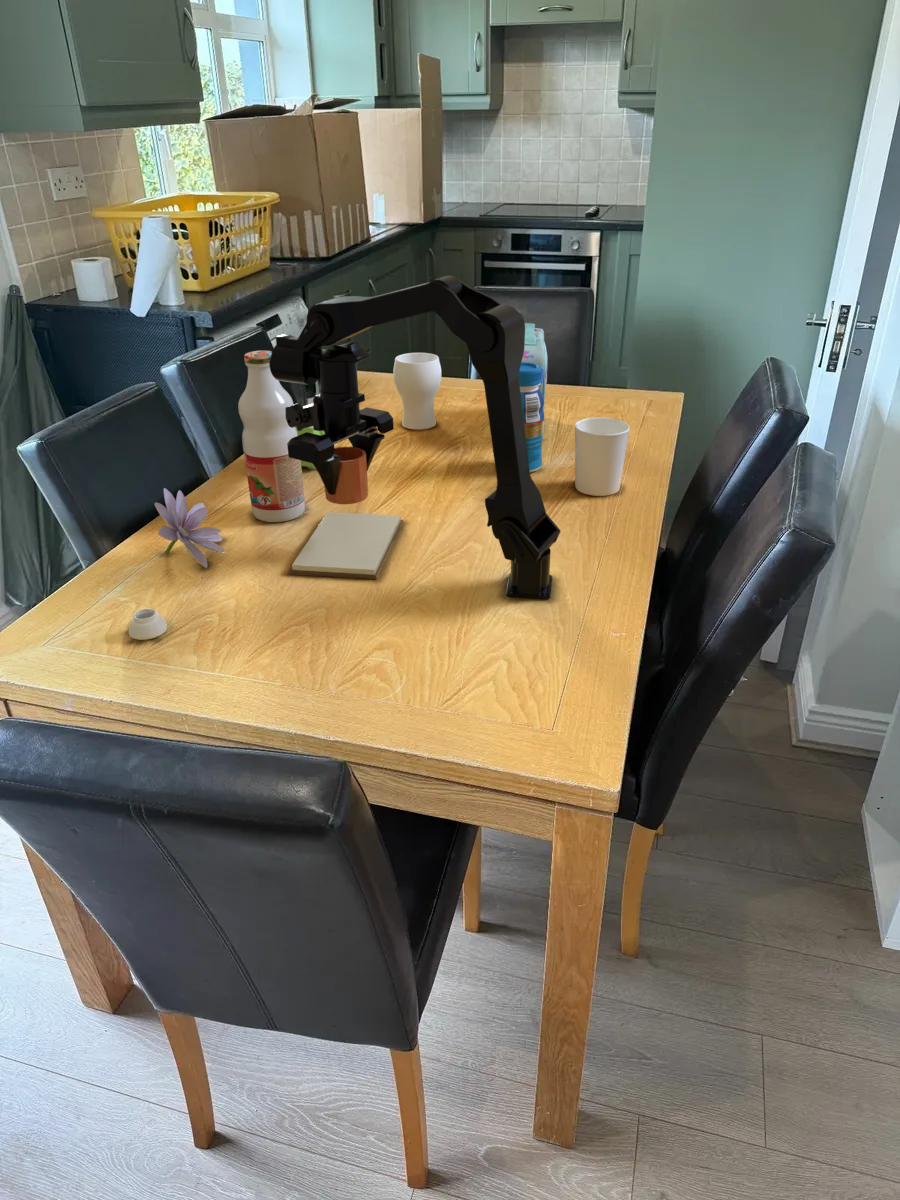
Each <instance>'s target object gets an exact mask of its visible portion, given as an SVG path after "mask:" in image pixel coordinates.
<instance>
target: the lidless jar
mask: <svg viewBox="0 0 900 1200" xmlns="http://www.w3.org/2000/svg"><path fill="white" fill-rule="evenodd" d="M167 629H168V624H167V621H166V620H165V619H164V618H163V617H162V615H161V614H159V613H158V612H157V610H155V608H150V607H146V608H141V609H139V610H137V611H135V612H134V613H133V615H132V619H131V620H130V623H129V626H128V635H129V637H131V638H132V639H135V640H141V641H143V640H150V639H151V640H152V639H154V638H157V637H159V636H161V635H162V634H164V633H165V632H166V631H167Z"/></svg>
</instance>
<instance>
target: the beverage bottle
mask: <svg viewBox="0 0 900 1200" xmlns="http://www.w3.org/2000/svg"><path fill="white" fill-rule="evenodd" d="M541 378H542V369H541V366H540V365H538V364H535V363H529V362H521V366H520V370H519V385H520V393H521V402H522V411H523V419H524V428H525V436H526V445H527V453H528V462H529V471H530V474H531V473H534V472H537V471H539V470H540V469H541V468H542V464H543V463H542V462H543V458H542V457H543V438H544V437H543V436H544V434H543V421H544V422H545V410H544V411H543V409H542V407H543V405H544V406H545V404H544V398H543V395H542V393H541V391H540V389H539V388H538V386H539V385H540V384H541Z"/></svg>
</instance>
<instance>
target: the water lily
mask: <svg viewBox="0 0 900 1200" xmlns="http://www.w3.org/2000/svg"><path fill="white" fill-rule="evenodd" d="M163 498H164V503H165V506H164V504H162V503H160V502H154V503H153V504H154V506H155V509H156V511H157V512H158V514H159V515H160V517H161V519H162V520H163V521H164V522H165V523H166V524H167V525H163V526H161V527H160V528H159V529H158V531H157V532H158V533H157V534H158V535H159V536H160V537H161V538H163V539H165V540H168V541H171V542H170V543H169V544H168V546H167V547H166V549H165V550H164V554H165V555H169V554H170V552H171V550H172V549H173V547H174V545H176V544H177V542H178V540H179V541H180V542H181V544H183V546H184V548H185V549H186V551H187V552H188V553H189V555H190V556H191V557H192V558H193V559H194V560H195V561H196V562H197V563H198V564H200V565H201V566H202V567H203V568H205V569H207V568H208V559H207V557H206V555H205V554H204V553H203V551H202V550H201V549H200V548H199V547H202V548H204V549H206V550H210V551H213V552H217V553H223V554H225V553H226V551H225V550H224V549H223V548H222V547H221V546H220V545H218V544H217V543H218V542H222V541H223V538H222V535H220V534H219V533H221V532H222V530H221V529H219V528H218V527H212V526H203V527H201V524H202V523H203V522H204V521H205V520H206V519H207V517H208V513H209V509H208V507H206V506H205V504H204V503H203V502H199V503H196V504H195V505H193V506H192V507H191V509H190V510H189V506H188V505H189V504H188V501H187V499H186V497H185V495H184V493H183V492H182V490H180V489H179V490H178V491H177V493H176V497H174V495H173V493H171V491H169V490H168V489H167V488H166V487H164V488H163ZM196 545H197V546H196ZM198 546H199V547H198Z"/></svg>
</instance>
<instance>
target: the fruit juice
mask: <svg viewBox="0 0 900 1200" xmlns="http://www.w3.org/2000/svg"><path fill="white" fill-rule="evenodd" d="M272 351H273V350H272ZM272 351H271V350H253V351H249V352H246V353H245V354H244V357H243V358H244V363H245V366H246V367H247V381H246V386H245V389H244V391H243V392H242V394H241V395H240V398H239V399H238V404H237V405H238V406H237V409H238V415H239V417H240V420H241V422H242V425H243V429H242V433H241V434H242V435H241V443H242V450H243V457H244V465H245V472H246V477H247V478H246V479H247V486H248V492H249V499H250V506H251V510H252V514H253V516H254V517H255V518H256V519H257V520H259V521H261V522H268V523H283V522H288V521H292V520H295V519H298V518H299V517H301V516H302V515H303V514H304V513H305V510H306V498H305V488H304V479H303V470H302V466H301V460H298V459H294V458H290V457H289V456H288V447H287V443H288V442H289V441H290V439H291V438H294V437H296V436H298V435H297V431H296V428H295V427H293V428H291V427H290V426H289V425H288V423H287V420H286V412H285V407H288V406H291V405H294V401H293V398H292V396H291V395H290V394H289V392H288V391H287V390H286V389H285V388H284V387H283V386H282V384H281V383H280V382H281V381H279V380H276V379H275V378H274V377H273V375H272V373H271V371H270V366H269V362H270V360H271V354H272Z"/></svg>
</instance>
